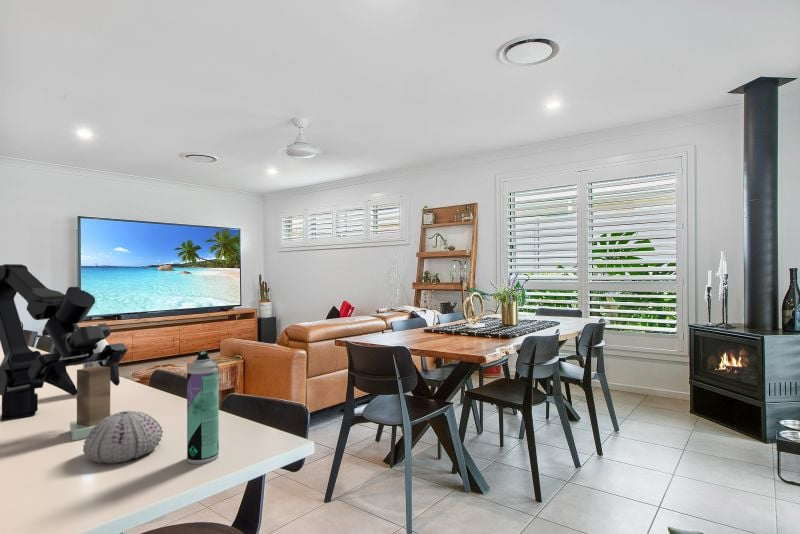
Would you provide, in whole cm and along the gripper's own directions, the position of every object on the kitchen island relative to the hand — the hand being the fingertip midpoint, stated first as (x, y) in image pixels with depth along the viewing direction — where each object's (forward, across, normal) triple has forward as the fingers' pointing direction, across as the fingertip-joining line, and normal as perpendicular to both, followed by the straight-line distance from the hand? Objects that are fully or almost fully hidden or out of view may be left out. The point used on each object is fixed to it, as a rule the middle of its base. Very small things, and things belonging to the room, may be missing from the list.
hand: (97, 389), depth 100 cm
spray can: (+31, -1, -17) cm, 35 cm away
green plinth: (+6, 0, +8) cm, 10 cm away
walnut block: (+4, 0, +6) cm, 8 cm away
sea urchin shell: (+19, -6, -5) cm, 20 cm away
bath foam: (-19, +23, +33) cm, 45 cm away
